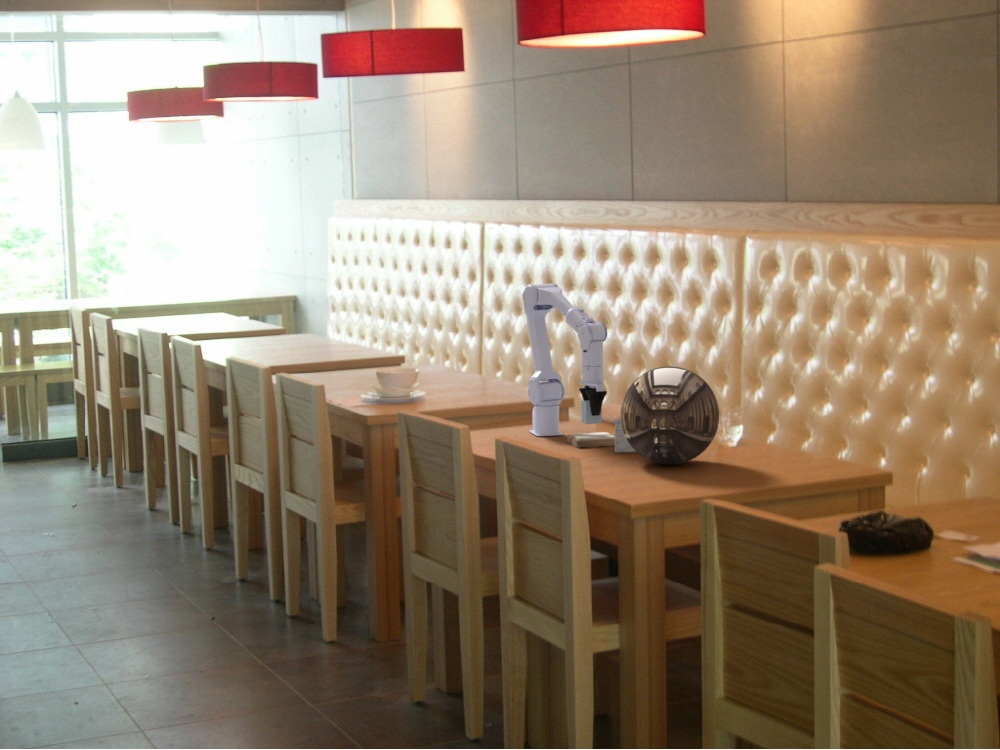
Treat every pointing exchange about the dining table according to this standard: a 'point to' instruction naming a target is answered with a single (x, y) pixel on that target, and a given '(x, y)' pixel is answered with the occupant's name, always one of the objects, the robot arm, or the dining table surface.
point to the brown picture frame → (591, 439)
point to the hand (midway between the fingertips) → (592, 414)
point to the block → (589, 414)
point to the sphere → (669, 415)
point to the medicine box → (621, 439)
